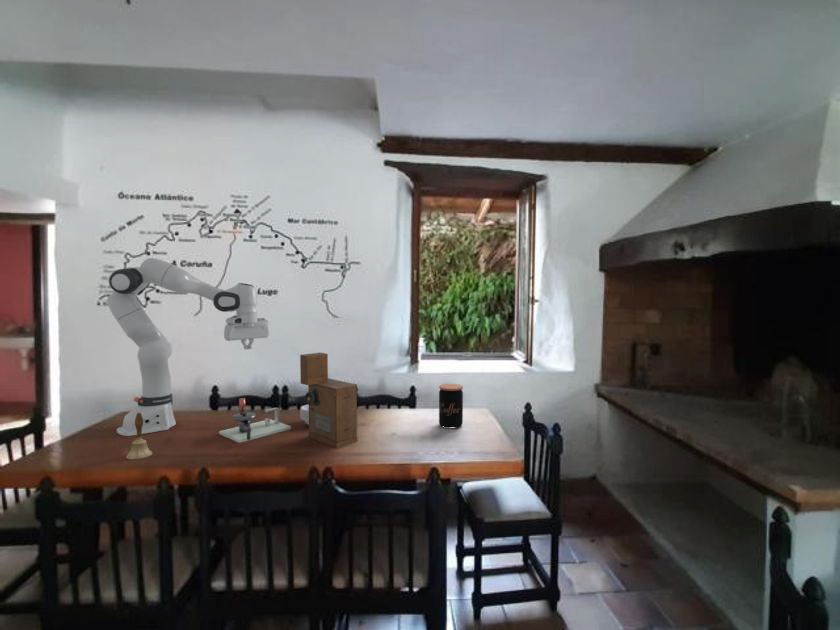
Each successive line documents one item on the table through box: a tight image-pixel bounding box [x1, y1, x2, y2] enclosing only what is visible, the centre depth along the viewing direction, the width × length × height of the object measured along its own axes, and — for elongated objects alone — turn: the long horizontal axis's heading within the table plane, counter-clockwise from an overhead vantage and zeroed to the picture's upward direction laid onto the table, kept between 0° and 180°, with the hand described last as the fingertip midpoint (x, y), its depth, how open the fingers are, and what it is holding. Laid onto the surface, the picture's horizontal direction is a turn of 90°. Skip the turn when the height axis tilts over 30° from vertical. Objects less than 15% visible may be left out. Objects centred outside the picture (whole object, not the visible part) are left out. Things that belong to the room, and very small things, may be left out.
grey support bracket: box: [264, 406, 281, 426], centre depth 202 cm, size 6×2×7 cm, turn 139°
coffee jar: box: [438, 383, 464, 428], centre depth 205 cm, size 11×11×18 cm
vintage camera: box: [299, 352, 358, 449], centre depth 184 cm, size 19×14×35 cm
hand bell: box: [126, 413, 153, 461], centre depth 167 cm, size 8×8×16 cm
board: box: [218, 410, 292, 444], centre depth 196 cm, size 24×17×10 cm
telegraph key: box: [232, 397, 257, 441], centre depth 189 cm, size 22×9×12 cm, turn 28°
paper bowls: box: [299, 404, 309, 426], centre depth 208 cm, size 15×15×8 cm
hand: (247, 348), depth 208 cm, fingers closed
